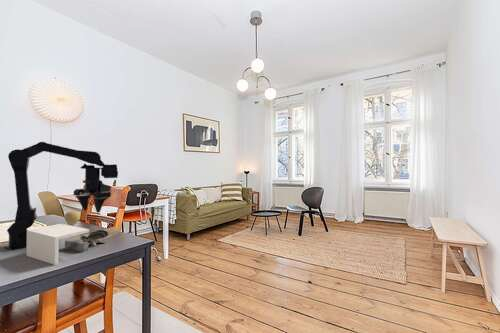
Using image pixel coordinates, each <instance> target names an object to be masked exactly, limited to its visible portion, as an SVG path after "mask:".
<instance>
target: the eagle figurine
mask: <svg viewBox="0 0 500 333" xmlns="http://www.w3.org/2000/svg"><path fill="white" fill-rule="evenodd" d="M88 234H89V235H88V237H86V236H84V235H85V234H83V235H82V234H81V235H80V236H79V237H80V239H81V240H82V241H84V242H88V244H91V245H93V246H94V247H95V248H96V247H97V244H96V243H103V244H105V243H106V242H105V241H102V239H101V238H104V239H107V238H108V237H107V236H108V232H107V231H104V229H98V230H96V231H92V232H89V233H88ZM106 237H107V238H106ZM99 239H101V240H99Z"/></svg>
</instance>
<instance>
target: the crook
mask: <svg viewBox="0 0 500 333" xmlns="http://www.w3.org/2000/svg"><path fill="white" fill-rule="evenodd" d="M103 230H104V231H107V232H108V236H107V237H106V238H105V239H107V238H109V236H110V237H112V235H113V236H116V235H118V234H119V227H118V226H112V227H109V228H105V229H103ZM89 234H90V233H86V234H83V235H84V236H86V237H88V235H89ZM115 234H116V235H115ZM99 240H100V239H99ZM101 240H103V238H101ZM64 250H68V251H75V252H80V253H85V252H88V251H89V243H88V242H84V241H82V240H81V239H80V236H77V237H73V238H70V239H67V240H65V241H64Z"/></svg>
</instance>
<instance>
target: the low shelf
mask: <svg viewBox="0 0 500 333" xmlns="http://www.w3.org/2000/svg"><path fill="white" fill-rule="evenodd" d="M88 233H90V229H89V228H83V227H80V226H79V227H78V226H77V227H75V226H70V225H68V224H67V223H66V224H65V223H57V224H52V225H48V226H41V227H37V228H32V229H27V247H26V252H25V253H26V256H27V257H30V258H32V259H35V260H39V261H42V262H45V263H48V264H51V265H54V266H55V265H56V266H57V265H58V264H59V248H60V247H59V245H60V244H59V243H60V242H59V241H60V240H62V239H66V238H67V239H68V238H70V237H74V236H79V235H82V234H83V235H84V234H88Z"/></svg>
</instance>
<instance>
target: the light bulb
mask: <svg viewBox="0 0 500 333" xmlns="http://www.w3.org/2000/svg"><path fill="white" fill-rule="evenodd" d="M80 219H81V213H80V212H78V211H76V210H71V211H68V212H66V213H65V215H64V220H65V222H66V224H67V225H70V226H75V227H78V222H79V221H80Z"/></svg>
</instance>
